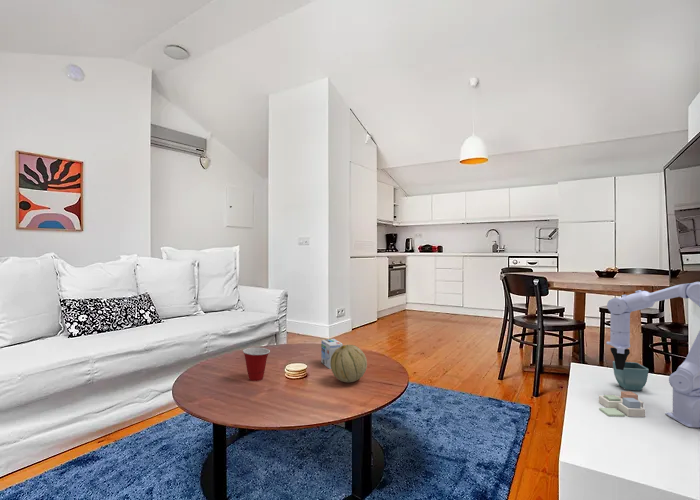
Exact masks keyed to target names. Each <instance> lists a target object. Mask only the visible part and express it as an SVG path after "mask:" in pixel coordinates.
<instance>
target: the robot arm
mask: <svg viewBox="0 0 700 500" xmlns="http://www.w3.org/2000/svg"><path fill="white" fill-rule="evenodd" d="M674 298H682V299H689V300H691V302H693V303H694V304H695V305H697V306H699V308H700V281H695V282H691V283H681V284H676V285H673V286H670V287H666V288H663V289H660V290H656V291H654V292H653V291H652V292H649V291H647V290H642V289H639V290H635V291H634V293H631V294H622V295H621V297H613V298H611V299H610V300H608V301H607V304H606V306H607V307H606V308H607V310H608V312H609V313H610V317H609V318H610V321H609V322H610V325H609V326H610V332H609V333H610V336H609V337H610V339H609V340H610V341H606V342H605V343H606V345H607V346H608V345H609V346H612V347H610V352H611V354H612V356H613V357H612V358H613V361H615V366H616V369H619V370H624V366H625V362H627V359H628V357H629V355H630V354H631V352H630V348H631V344H630V343H631V313H632V312H637V311H640V310H644V309H649V308H652V307H653V306H654V304H655V303H656V302H660V301H664V300H669V299H674ZM668 383H669V385H670V386H671V387H672V412H664V413H665V415H666V416H668V417H670V418H671V419H673V420H675V421H677V422H678V423H680V424H682V425H684V426H685V427H687V428H697V429H698V428H700V330H699V331H698V333H697V335H696V337H695V339H694V342H693V343H692V346H691V347H690V349H689V352H688V354H687V355H686V357H685V359H684V360H683V362H682V363H681V364H680V365H679V366H678V367H677V369H676V371H674V372H672V373H670V375H669V376H668Z"/></svg>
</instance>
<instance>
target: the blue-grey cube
mask: <svg viewBox="0 0 700 500" xmlns="http://www.w3.org/2000/svg"><path fill="white" fill-rule="evenodd" d="M638 400H639V399H638ZM638 400H636V399H634V398H623V405H625V406H626V407H628V408H636V409H640V401H641V400H640V401H638Z"/></svg>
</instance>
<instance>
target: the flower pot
mask: <svg viewBox="0 0 700 500" xmlns="http://www.w3.org/2000/svg"><path fill="white" fill-rule="evenodd" d="M612 369H613V374H614V377H615V380H616V382H617V384H618V385H619V386H620V387H621V388H623V390H626V391H637V392H638V391H640V392H641V390H643V388H644V387H645V386H646V383H647V380H648V376H649V368H648V367H646V366H644V365H643V364H640V363H639V362H634V361H632V362H631V361H626V362H625V366H624V370H619V369H616V366H615V360H613V361H612Z"/></svg>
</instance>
